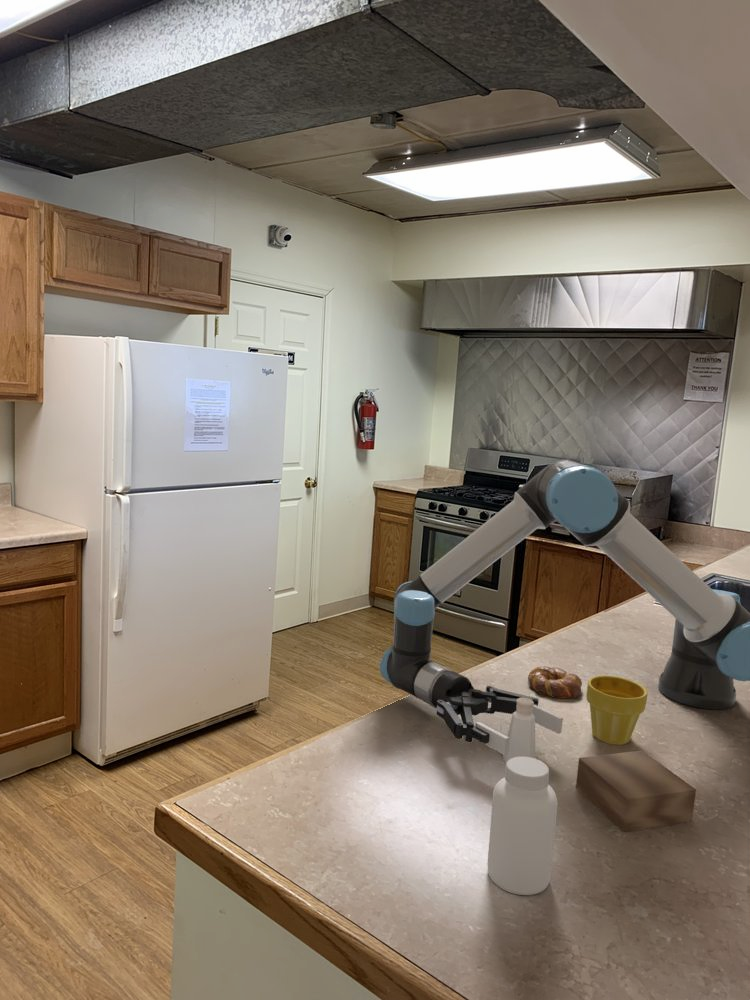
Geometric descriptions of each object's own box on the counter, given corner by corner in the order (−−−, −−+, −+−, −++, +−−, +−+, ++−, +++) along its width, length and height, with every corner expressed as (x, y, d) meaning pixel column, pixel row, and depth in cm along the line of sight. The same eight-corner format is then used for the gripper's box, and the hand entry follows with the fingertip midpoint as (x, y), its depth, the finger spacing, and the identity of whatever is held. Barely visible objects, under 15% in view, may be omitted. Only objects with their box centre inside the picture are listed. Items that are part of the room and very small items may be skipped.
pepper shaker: (537, 758, 124) (543, 697, 122) (533, 773, 119) (540, 709, 117) (505, 752, 126) (511, 691, 124) (500, 766, 121) (506, 703, 119)
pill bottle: (479, 856, 97) (489, 750, 95) (538, 856, 98) (549, 751, 95) (494, 897, 89) (505, 783, 87) (558, 897, 90) (571, 783, 87)
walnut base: (638, 779, 120) (642, 750, 119) (691, 820, 108) (696, 789, 108) (575, 787, 116) (579, 757, 115) (624, 831, 104) (628, 799, 104)
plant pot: (645, 754, 128) (652, 701, 127) (584, 745, 130) (590, 693, 129) (636, 728, 138) (642, 679, 137) (580, 720, 140) (585, 671, 139)
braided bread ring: (514, 684, 157) (515, 667, 156) (547, 674, 163) (549, 659, 163) (559, 705, 147) (561, 687, 147) (592, 694, 154) (594, 677, 153)
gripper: (488, 694, 144) (578, 738, 128) (391, 724, 129) (479, 778, 112) (492, 658, 143) (583, 697, 127) (394, 683, 127) (483, 732, 111)
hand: (534, 735), depth 119 cm, fingers open, 13 cm apart
